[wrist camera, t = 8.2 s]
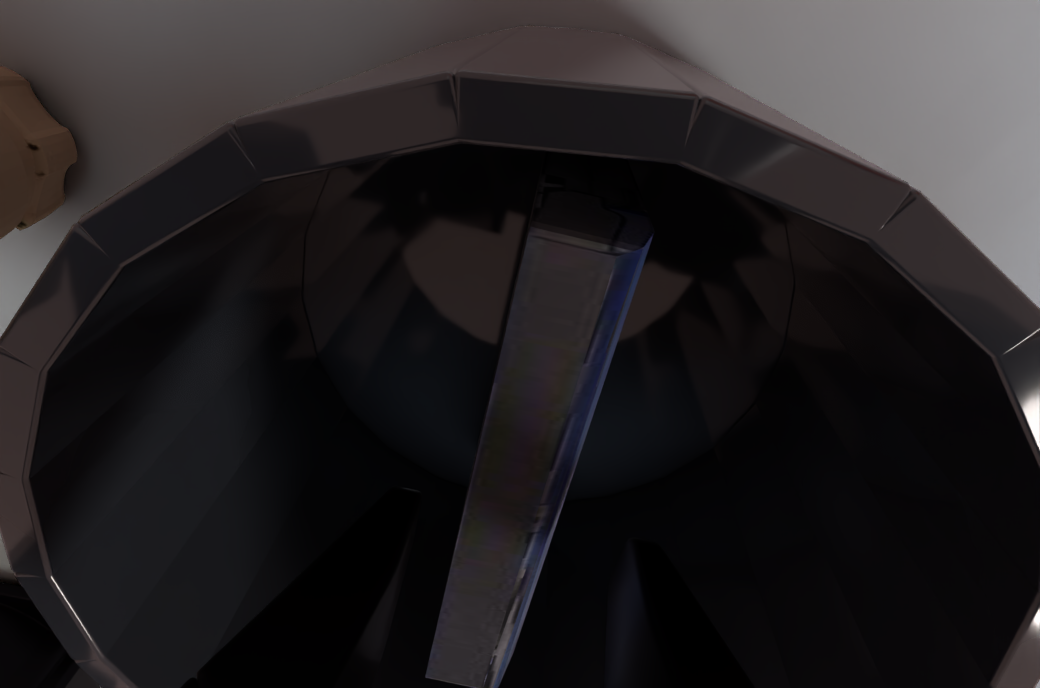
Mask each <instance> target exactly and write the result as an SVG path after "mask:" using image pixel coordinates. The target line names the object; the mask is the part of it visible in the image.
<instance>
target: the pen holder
mask: <svg viewBox="0 0 1040 688" xmlns="http://www.w3.org/2000/svg"><path fill="white" fill-rule="evenodd" d="M545 152H555V153H565V154H575V155H585V156H595V157H606V158H616V159H626V160H628V162H629V165H630V168H631V170H632V173H633V175H634V178H635V181H636V183H637V186H638V189H639V191H640V194H641V196H642V199H643V202H644V204H645V207H646V210H647V212H648V215H649V218H650V220H651V223H652V225H653V228H654V231H655V232H654V235H653V238H652V241H651V244H650V247H649V250H648V253H647V256H646V259H645V262H644V265H643V268H642V271H641V274H640V277H639V279H638V282H637V285H636V288H635V291H634V294H633V297H632V300H631V303H630V306H629V309H628V312H627V315H626V318H625V321H624V324H623V327H622V330H621V333H620V336H619V339H618V342H617V345H616V348H615V351H614V354H613V357H612V360H611V363H610V366H609V369H608V372H607V375H606V378H605V381H604V384H603V387H602V390H601V393H600V396H599V399H598V402H597V405H596V408H595V411H594V414H593V417H592V420H591V423H590V426H589V429H588V432H587V435H586V438H585V441H584V444H583V447H582V450H581V453H580V456H579V459H578V462H577V465H576V468H575V471H574V474H573V477H572V480H571V483H570V486H569V489H568V492H567V495H566V498H565V501H564V503H563V506H562V509H561V512H560V515H559V518H558V521H557V524H556V527H555V530H554V533H553V536H552V539H551V542H550V545H549V548H548V551H547V554H546V557H545V560H544V563H543V566H542V569H541V572H540V575H539V578H538V581H537V584H536V587H535V590H534V593H533V596H532V599H531V602H530V605H529V608H528V611H527V614H526V617H525V620H524V623H523V626H522V629H521V632H520V635H519V638H518V641H517V644H516V647H515V650H514V653H513V655H512V657H511V660H510V662H509V664H508V667H507V669H506V671H505V674H504V676H503V678H502V680H501V683H500V685H499V687H498V688H604V668H605V646H606V624H607V602H608V587H609V581H610V577H611V574H612V572H613V570H614V568H615V565H616V563H617V561H618V559H619V556H620V554H621V552H622V550H623V547H624V545H625V543H626V542H627V541H628V539H630V538H639V539H644V540H648V541H653V542H656V543H658V544H659V545H660V546H661V547H662V549H663V550H664V552H665V553H666V555H667V556H668V558H669V559H670V561H671V562H672V564H673V565H674V567H675V568H676V570H677V571H678V573H679V574H680V576H681V577H682V579H683V580H684V582H685V583H686V585H687V586H688V588H689V589H690V591H691V592H692V594H693V595H694V597H695V598H696V600H697V601H698V603H699V604H700V606H701V607H702V609H703V610H704V612H705V613H706V615H707V616H708V618H709V619H710V621H711V622H712V624H713V625H714V627H715V628H716V630H717V631H718V633H719V634H720V636H721V637H722V639H723V640H724V642H725V643H726V645H727V646H728V648H729V649H730V651H731V652H732V654H733V655H734V657H735V658H736V660H737V661H738V663H739V664H740V666H741V667H742V669H743V670H744V672H745V673H746V675H747V676H748V678H749V679H750V681H751V682H752V684H753V685H754V687H755V688H1035V687H1036V685H1037V683H1038V682H1039V680H1040V308H1039V307H1038V306H1037V305H1036V304H1035V303H1034V302H1033V301H1032V300H1031V299H1030V298H1029V297H1028V296H1027V295H1026V294H1025V293H1024V292H1023V291H1022V290H1021V289H1020V288H1019V287H1018V286H1017V285H1015V284H1014V283H1013V282H1012V281H1011V280H1010V279H1009V278H1008V277H1007V276H1006V275H1005V274H1004V273H1003V272H1002V271H1001V270H1000V269H999V268H998V267H997V266H996V265H995V264H994V263H993V262H992V261H991V260H990V259H989V258H988V257H987V256H986V255H985V254H984V253H983V252H982V251H981V250H980V249H979V248H978V247H977V246H976V245H975V244H974V243H973V242H972V241H971V240H970V239H969V238H968V237H967V236H966V235H965V234H964V233H963V232H961V231H960V230H959V229H958V228H957V227H956V226H955V225H954V224H953V223H952V222H951V221H950V220H949V219H948V218H947V217H946V216H945V215H944V214H943V213H942V212H941V211H940V210H939V209H938V208H937V207H936V206H935V205H934V204H933V203H932V202H931V201H930V200H929V199H928V198H927V197H926V196H925V195H924V194H923V193H922V192H921V191H919V190H918V189H916V188H914V187H912V186H910V185H909V184H908V183H907V182H906V181H904V180H902V179H900V178H898V177H897V176H895V175H893V174H891V173H889V172H887V171H886V170H884V169H882V168H880V167H878V166H877V165H875V164H873V163H871V162H869V161H867V160H866V159H864V158H862V157H860V156H858V155H857V154H855V153H853V152H851V151H849V150H848V149H846V148H844V147H842V146H840V145H838V144H837V143H835V142H833V141H831V140H829V139H828V138H826V137H824V136H822V135H820V134H818V133H817V132H815V131H813V130H811V129H809V128H808V127H806V126H804V125H802V124H800V123H798V122H797V121H795V120H793V119H791V118H789V117H788V116H786V115H784V114H782V113H780V112H778V111H777V110H775V109H773V108H771V107H769V106H768V105H766V104H764V103H762V102H760V101H759V100H757V99H755V98H753V97H751V96H749V95H748V94H746V93H744V92H742V91H740V90H739V89H737V88H735V87H733V86H731V85H729V84H728V83H726V82H724V81H722V80H720V79H719V78H717V77H715V76H713V75H711V74H709V73H708V72H706V71H704V70H702V69H700V68H697V67H695V66H693V65H690V64H688V63H686V62H684V61H681V60H679V59H677V58H675V57H672V56H670V55H668V54H666V53H664V52H662V51H660V50H658V49H656V48H653V47H650V46H648V45H645V44H643V43H641V42H639V41H636V40H634V39H632V38H630V37H627V36H625V35H620V34H618V33H608V32H598V31H590V30H584V29H579V28H557V27H544V26H534V25H527V26H518V27H514V28H509V29H505V30H501V31H494V32H490V33H487V34H483V35H479V36H475V37H471V38H466V39H462V40H458V41H453V42H449V43H445V44H440V45H437V46H434V47H431V48H428V49H426V50H423V51H420V52H417V53H414V54H412V55H409V56H406V57H403V58H401V59H398V60H395V61H392V62H390V63H387V64H384V65H381V66H378V67H376V68H373V69H370V70H367V71H365V72H362V73H359V74H356V75H354V76H351V77H348V78H345V79H343V80H340V81H337V82H334V83H331V84H329V85H326V86H323V87H320V88H318V89H315V90H312V91H309V92H307V93H304V94H301V95H298V96H296V97H293V98H290V99H287V100H284V101H282V102H279V103H276V104H273V105H271V106H268V107H265V108H262V109H260V110H257V111H254V112H251V113H249V114H246V115H243V116H240V117H238V118H237V119H234V120H231V121H228V122H226V123H224V124H223V125H221V126H219V127H218V128H216V129H215V130H213V131H212V132H210V133H209V134H207V135H206V136H204V137H203V138H201V139H200V140H198V141H196V142H195V143H193V144H192V145H190V146H189V147H187V148H186V149H184V150H183V151H181V152H180V153H178V154H177V155H175V156H173V157H172V158H170V159H169V160H167V161H166V162H164V163H163V164H161V165H160V166H158V167H157V168H155V169H154V170H152V171H150V172H149V173H147V174H146V175H144V176H143V177H141V178H140V179H138V180H137V181H135V182H134V183H132V184H131V185H129V186H127V187H126V188H124V189H123V190H121V191H120V192H118V193H117V194H115V195H114V196H112V197H111V198H109V199H108V200H106V201H105V202H103V203H101V204H100V205H98V206H97V207H95V208H94V209H92V210H91V211H89V212H88V213H86V214H85V215H83V216H82V217H81V218H80V220H79V221H78V223H76V224H74V225H73V226H72V227H71V229H70V230H69V232H68V233H67V235H66V237H65V238H64V240H63V241H62V243H61V244H60V246H59V247H58V249H57V251H56V252H55V254H54V255H53V257H52V258H51V260H50V261H49V263H48V265H47V266H46V268H45V269H44V271H43V272H42V274H41V275H40V277H39V278H38V280H37V282H36V283H35V285H34V286H33V288H32V289H31V291H30V292H29V294H28V296H27V297H26V299H25V300H24V302H23V303H22V305H21V306H20V308H19V310H18V311H17V313H16V314H15V316H14V317H13V319H12V320H11V322H10V323H9V325H8V327H7V328H6V330H5V331H4V333H3V334H2V336H1V337H0V533H1V536H2V540H3V543H4V547H5V550H6V553H7V557H8V560H9V564H10V567H11V570H13V571H14V576H15V577H16V579H17V580H18V582H19V583H20V585H21V586H22V587H23V589H24V590H25V592H26V593H27V595H28V596H29V598H30V599H31V601H32V602H33V604H34V605H35V606H36V608H37V609H38V611H39V612H40V614H41V615H42V617H43V618H44V620H45V621H46V623H47V624H48V626H49V627H50V628H51V630H52V631H53V633H54V634H55V636H56V637H57V639H58V640H59V642H60V643H61V645H62V646H63V648H64V649H65V650H66V652H67V653H68V655H69V656H70V658H72V659H73V660H75V663H76V664H77V665H78V666H79V667H80V668H81V669H82V670H83V671H84V672H86V673H87V674H88V675H89V676H90V677H91V678H92V679H93V680H94V681H96V682H97V683H98V684H99V685H100V686H101V687H102V688H180V687H181V686H182V685H183V684H184V683H185V682H186V681H187V680H189V679H190V678H192V677H194V678H196V679H197V677H196V674H197V672H198V670H199V669H201V668H202V667H203V666H204V665H205V664H206V663H207V662H208V661H209V660H210V659H211V658H212V657H213V656H214V655H215V654H216V653H217V652H218V651H219V650H221V649H222V648H223V647H224V646H225V645H226V644H227V643H228V642H229V641H230V640H231V639H232V638H233V637H234V636H235V635H236V634H237V633H238V632H239V631H241V630H242V629H243V628H244V627H245V626H246V625H247V624H248V623H249V622H250V621H251V620H252V619H253V618H254V617H255V616H256V615H257V614H258V613H259V612H260V611H262V610H263V609H264V608H265V607H266V606H267V605H268V604H269V603H270V602H271V601H272V600H273V599H274V598H275V597H276V596H277V595H278V594H279V593H280V592H282V591H283V590H284V589H285V588H286V587H287V586H288V585H289V584H290V583H291V582H292V581H293V580H294V579H295V578H296V577H297V576H298V575H299V574H300V573H302V572H303V571H304V570H305V569H306V568H307V567H308V566H309V565H310V564H311V563H312V562H313V561H314V560H315V559H316V558H317V557H318V556H319V555H320V554H322V553H323V552H324V551H325V550H326V549H327V548H328V547H329V546H330V545H331V544H332V543H333V542H334V541H335V540H336V539H337V538H338V537H339V536H340V535H341V534H343V533H344V532H345V531H346V530H347V529H348V528H349V527H350V526H351V525H352V524H353V523H354V522H355V521H356V520H357V519H358V518H359V517H360V516H361V515H363V514H364V513H365V512H366V511H367V510H368V509H369V508H370V507H371V506H372V505H373V504H374V503H375V502H376V501H377V500H378V499H379V498H380V497H381V496H383V495H384V494H385V493H386V492H387V491H388V490H389V489H390V488H391V487H393V486H400V487H405V488H410V489H414V490H418V491H420V492H421V494H422V500H421V505H420V510H419V515H418V521H417V526H416V531H415V536H414V540H413V544H412V548H411V552H410V556H409V560H408V563H407V567H406V571H405V575H404V578H403V582H402V586H401V590H400V593H399V597H398V601H397V605H396V609H395V612H394V616H393V620H392V624H391V627H390V631H389V635H388V639H387V642H386V645H385V649H384V652H383V655H382V658H381V661H380V664H379V667H378V669H377V672H376V675H375V677H374V680H373V683H372V685H371V688H473V687H469V686H464V685H459V684H454V683H449V682H445V681H440V680H435V679H430V678H426V677H425V675H426V671H427V667H428V662H429V658H430V653H431V649H432V644H433V640H434V635H435V631H436V627H437V622H438V618H439V613H440V609H441V604H442V600H443V595H444V591H445V587H446V582H447V578H448V573H449V569H450V564H451V560H452V555H453V551H454V546H455V542H456V538H457V533H458V529H459V524H460V520H461V515H462V511H463V506H464V502H465V498H466V493H467V489H468V484H469V480H470V475H471V471H472V466H473V462H474V458H475V453H476V449H477V445H478V440H479V436H480V432H481V427H482V423H483V419H484V414H485V410H486V406H487V401H488V397H489V393H490V388H491V384H492V380H493V375H494V371H495V367H496V362H497V358H498V354H499V349H500V345H501V341H502V336H503V332H504V328H505V324H506V319H507V315H508V311H509V306H510V302H511V298H512V293H513V289H514V285H515V280H516V276H517V272H518V267H519V263H520V259H521V254H522V250H523V246H524V241H525V237H526V233H527V228H528V224H529V220H530V215H531V211H532V207H533V202H534V198H535V194H536V189H537V185H538V181H539V176H540V172H541V168H542V163H543V159H544V155H545Z"/></svg>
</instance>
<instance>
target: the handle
mask: <svg viewBox="0 0 1040 688" xmlns="http://www.w3.org/2000/svg"><path fill="white" fill-rule="evenodd" d="M76 161H77V150H76V145H75V142H74V139H73V137H72V135H71V133H70V131H69V130H68V129H67V128H65V127H62V126H61V125H60V124H59V123H58V122H57V121H55V120H54V119H53V118H52V116H51V115H50V114H49V113H48V112H47V111H46V110H45V109H44V107H43V106H42V105H41V103H40V102H39V100H38V99H37V98H36V96H35V94H34V93H33V91H32V89H31V86H30V83H29V82H28V81H27V80H26V79H24V78H23V77H22V76H20V75H19V74H17V73H16V72H14V71H12V70H10V69H8V68H6V67H4V66H0V239H1V238H3V237H4V236H5V235H7V234H8V233H9V232H11V231H12V230H13V229H14V228H15V227H16V228H17V229H19V230H22V229H25V228H27V227H29V226H31V225H33V224H34V223H36V222H38V221H40V220H41V219H43V218H45V217H46V216H48V215H49V214H51V213H52V212H53V211H55V210H56V209H57V208H59V207H60V206H61V205H62V204H63V203H64V200H65V194H64V178H65V173H66V171H67V169H68V167H69V166H70V165H72V164H74V163H75V162H76Z"/></svg>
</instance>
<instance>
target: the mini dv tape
mask: <svg viewBox="0 0 1040 688" xmlns="http://www.w3.org/2000/svg"><path fill="white" fill-rule="evenodd" d="M654 232H655V231H654V228H653V225H652V223H651V220H650V218H649V215H648V212H647V210H646V207H645V204H644V202H643V199H642V196H641V194H640V191H639V189H638V186H637V183H636V181H635V178H634V175H633V173H632V170H631V168H630V165H629V162H628V160H626V159H616V158H606V157H595V156H585V155H575V154H565V153H555V152H545V155H544V159H543V163H542V168H541V172H540V176H539V181H538V185H537V189H536V194H535V198H534V202H533V207H532V211H531V215H530V220H529V224H528V228H527V233H526V237H525V241H524V246H523V250H522V254H521V259H520V263H519V267H518V272H517V276H516V280H515V285H514V289H513V293H512V298H511V302H510V306H509V311H508V315H507V319H506V324H505V328H504V332H503V336H502V341H501V345H500V349H499V354H498V358H497V362H496V367H495V371H494V375H493V380H492V384H491V388H490V393H489V397H488V401H487V406H486V410H485V414H484V419H483V423H482V427H481V432H480V436H479V440H478V445H477V449H476V453H475V458H474V462H473V466H472V471H471V475H470V480H469V484H468V489H467V493H466V498H465V502H464V506H463V511H462V515H461V520H460V524H459V529H458V533H457V538H456V542H455V546H454V551H453V555H452V560H451V564H450V569H449V573H448V578H447V582H446V587H445V591H444V595H443V600H442V604H441V609H440V613H439V618H438V622H437V627H436V631H435V635H434V640H433V644H432V649H431V653H430V658H429V662H428V667H427V671H426V675H425V677H426V678H430V679H435V680H440V681H445V682H449V683H454V684H459V685H464V686H469V687H473V688H498V687H499V685H500V683H501V680H502V678H503V676H504V674H505V671H506V669H507V667H508V664H509V662H510V660H511V657H512V655H513V653H514V650H515V647H516V644H517V641H518V638H519V635H520V632H521V629H522V626H523V623H524V620H525V617H526V614H527V611H528V608H529V605H530V602H531V599H532V596H533V593H534V590H535V587H536V584H537V581H538V578H539V575H540V572H541V569H542V566H543V563H544V560H545V557H546V554H547V551H548V548H549V545H550V542H551V539H552V536H553V533H554V530H555V527H556V524H557V521H558V518H559V515H560V512H561V509H562V506H563V503H564V501H565V498H566V495H567V492H568V489H569V486H570V483H571V480H572V477H573V474H574V471H575V468H576V465H577V462H578V459H579V456H580V453H581V450H582V447H583V444H584V441H585V438H586V435H587V432H588V429H589V426H590V423H591V420H592V417H593V414H594V411H595V408H596V405H597V402H598V399H599V396H600V393H601V390H602V387H603V384H604V381H605V378H606V375H607V372H608V369H609V366H610V363H611V360H612V357H613V354H614V351H615V348H616V345H617V342H618V339H619V336H620V333H621V330H622V327H623V324H624V321H625V318H626V315H627V312H628V309H629V306H630V303H631V300H632V297H633V294H634V291H635V288H636V285H637V282H638V279H639V277H640V274H641V271H642V268H643V265H644V262H645V259H646V256H647V253H648V250H649V247H650V244H651V241H652V238H653V235H654Z"/></svg>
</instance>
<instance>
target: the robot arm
mask: <svg viewBox="0 0 1040 688" xmlns="http://www.w3.org/2000/svg"><path fill="white" fill-rule="evenodd" d="M421 500H422V494H421V492H420V491H418V490H414V489H410V488H405V487H400V486H393V487H391V488H390V489H389V490H388V491H387V492H386V493H385V494H384V495H383V496H381V497H380V498H379V499H378V500H377V501H376V502H375V503H374V504H373V505H372V506H371V507H370V508H369V509H368V510H367V511H366V512H365V513H364V514H363V515H361V516H360V517H359V518H358V519H357V520H356V521H355V522H354V523H353V524H352V525H351V526H350V527H349V528H348V529H347V530H346V531H345V532H344V533H343V534H341V535H340V536H339V537H338V538H337V539H336V540H335V541H334V542H333V543H332V544H331V545H330V546H329V547H328V548H327V549H326V550H325V551H324V552H323V553H322V554H320V555H319V556H318V557H317V558H316V559H315V560H314V561H313V562H312V563H311V564H310V565H309V566H308V567H307V568H306V569H305V570H304V571H303V572H302V573H300V574H299V575H298V576H297V577H296V578H295V579H294V580H293V581H292V582H291V583H290V584H289V585H288V586H287V587H286V588H285V589H284V590H283V591H282V592H280V593H279V594H278V595H277V596H276V597H275V598H274V599H273V600H272V601H271V602H270V603H269V604H268V605H267V606H266V607H265V608H264V609H263V610H262V611H260V612H259V613H258V614H257V615H256V616H255V617H254V618H253V619H252V620H251V621H250V622H249V623H248V624H247V625H246V626H245V627H244V628H243V629H242V630H241V631H239V632H238V633H237V634H236V635H235V636H234V637H233V638H232V639H231V640H230V641H229V642H228V643H227V644H226V645H225V646H224V647H223V648H222V649H221V650H219V651H218V652H217V653H216V654H215V655H214V656H213V657H212V658H211V659H210V660H209V661H208V662H207V663H206V664H205V665H204V666H203V667H202V668H201V669H199V670H198V672H197V674H196V677H197V679H196V678H194V677H192V678H190V679H189V680H187V681H186V682H185V683H184V684H183V685H182V686H181V687H180V688H371V685H372V683H373V680H374V677H375V675H376V672H377V669H378V667H379V664H380V661H381V658H382V655H383V652H384V649H385V645H386V642H387V639H388V635H389V631H390V627H391V624H392V620H393V616H394V612H395V609H396V605H397V601H398V597H399V593H400V590H401V586H402V582H403V578H404V575H405V571H406V567H407V563H408V560H409V556H410V552H411V548H412V544H413V540H414V536H415V531H416V526H417V521H418V515H419V510H420V505H421ZM0 688H100V686H99V684H98V683H97V682H96V681H94V680H93V679H92V678H91V677H90V676H89V675H88V674H87V673H86V672H84V671H83V670H82V669H81V668H80V667H79V666H78V665H77V664H76V663H75V660H73V659H72V658H70V656H69V655H68V653H67V652H66V650H65V649H64V648H63V646H62V645H61V643H60V642H59V640H58V639H57V637H56V636H55V634H54V633H53V631H52V630H51V628H50V627H49V626H48V624H47V623H46V621H45V620H44V618H43V617H42V615H41V614H40V612H39V611H38V609H37V608H36V606H35V605H34V604H33V602H32V601H31V599H30V598H29V596H28V595H27V593H26V592H25V590H24V589H23V587H20V586H15V585H10V584H6V583H1V582H0ZM604 688H755V687H754V685H753V684H752V682H751V681H750V679H749V678H748V676H747V675H746V673H745V672H744V670H743V669H742V667H741V666H740V664H739V663H738V661H737V660H736V658H735V657H734V655H733V654H732V652H731V651H730V649H729V648H728V646H727V645H726V643H725V642H724V640H723V639H722V637H721V636H720V634H719V633H718V631H717V630H716V628H715V627H714V625H713V624H712V622H711V621H710V619H709V618H708V616H707V615H706V613H705V612H704V610H703V609H702V607H701V606H700V604H699V603H698V601H697V600H696V598H695V597H694V595H693V594H692V592H691V591H690V589H689V588H688V586H687V585H686V583H685V582H684V580H683V579H682V577H681V576H680V574H679V573H678V571H677V570H676V568H675V567H674V565H673V564H672V562H671V561H670V559H669V558H668V556H667V555H666V553H665V552H664V550H663V549H662V547H661V546H660V545H659V544H658V543H656V542H653V541H648V540H644V539H639V538H630V539H628V541H627V542H626V543H625V545H624V547H623V550H622V552H621V554H620V556H619V559H618V561H617V563H616V565H615V568H614V570H613V572H612V574H611V577H610V581H609V587H608V602H607V624H606V646H605V668H604Z"/></svg>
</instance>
